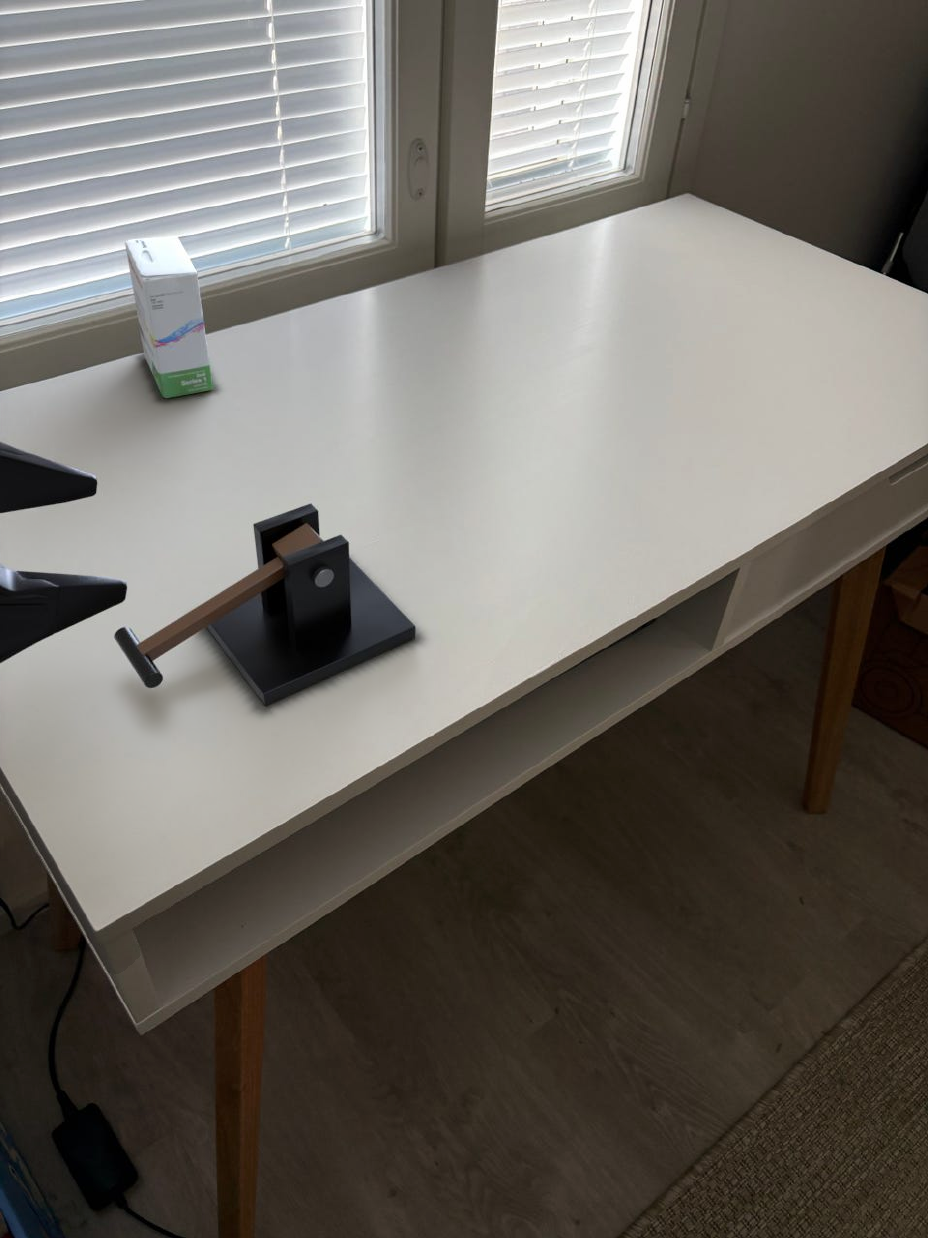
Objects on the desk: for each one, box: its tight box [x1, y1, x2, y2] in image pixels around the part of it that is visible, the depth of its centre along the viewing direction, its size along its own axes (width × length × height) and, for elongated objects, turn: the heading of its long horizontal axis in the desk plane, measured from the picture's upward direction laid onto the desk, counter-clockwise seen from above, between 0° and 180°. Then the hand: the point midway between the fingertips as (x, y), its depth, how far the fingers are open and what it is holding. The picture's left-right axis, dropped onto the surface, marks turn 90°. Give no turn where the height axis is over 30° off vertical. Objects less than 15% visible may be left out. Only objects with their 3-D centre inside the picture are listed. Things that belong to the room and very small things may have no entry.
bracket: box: [206, 503, 417, 706], centre depth 70 cm, size 12×10×9 cm
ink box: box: [124, 235, 214, 399], centre depth 93 cm, size 8×5×12 cm, turn 25°
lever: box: [113, 523, 324, 689], centre depth 66 cm, size 14×5×2 cm, turn 125°
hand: (110, 535), depth 52 cm, fingers open, 9 cm apart
